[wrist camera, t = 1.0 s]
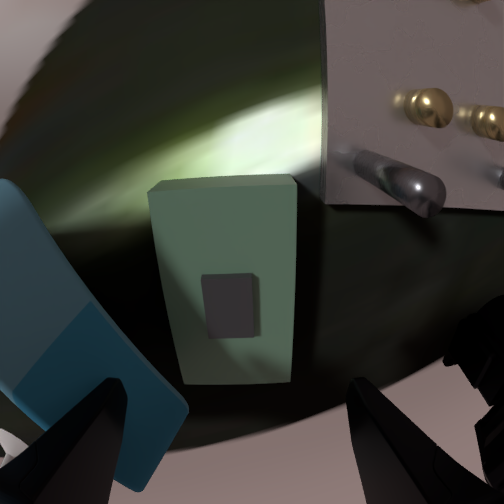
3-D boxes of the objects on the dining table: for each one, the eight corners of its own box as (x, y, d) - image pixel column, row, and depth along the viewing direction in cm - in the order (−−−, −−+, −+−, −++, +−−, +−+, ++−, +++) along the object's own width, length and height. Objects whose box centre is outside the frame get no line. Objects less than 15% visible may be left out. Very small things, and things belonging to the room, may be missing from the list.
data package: (-74, 287, 10) (-102, 242, 4) (-27, 243, 14) (10, 159, 7) (48, 429, 15) (157, 503, 9) (83, 383, 19) (206, 415, 12)
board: (288, 172, 14) (298, 187, 11) (285, 350, 18) (291, 387, 15) (163, 178, 14) (143, 194, 11) (190, 353, 18) (183, 389, 15)
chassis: (499, -39, 7) (561, -57, 2) (509, 206, 14) (580, 248, 8) (307, -103, 7) (333, -172, 2) (319, 197, 14) (366, 256, 8)
